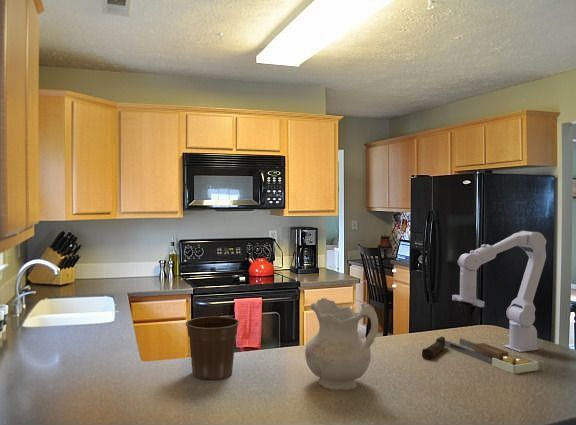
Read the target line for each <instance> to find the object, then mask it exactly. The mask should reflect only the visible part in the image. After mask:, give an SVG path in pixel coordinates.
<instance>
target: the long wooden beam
mask: <svg viewBox="0 0 576 425" xmlns="http://www.w3.org/2000/svg"><path fill="white" fill-rule="evenodd" d="M474 351H477V352H480V353H483V354H485V355H488V356H491V357H493V358H496V359H498V360H501V361H502V356H503V355H510V353H509V351H506V350H504V349H500V348H498V347H496V346H493V345H490V344H487V343H485V342H480V343H476V344H475V349H474Z"/></svg>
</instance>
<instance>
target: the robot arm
mask: <svg viewBox="0 0 576 425" xmlns="http://www.w3.org/2000/svg"><path fill="white" fill-rule="evenodd" d="M547 242H548V241H547V239H546V238H545V236H544V235H543V234H542V233H541V232H539V231H527V230H520V231H518V232H515V233H512V234H511V235H510V236H507V237H506V238H504V239H503V240H500V241H499V242H496V243H494V244H492V245H490V244H484V243H483V244H481V245H480V247H478V248H476V249H475V250H473V249H472V250H470V251H469V253H467V252H466V253H463V254H460V256H459V258H458V260H457V265H458V266H459V268H460V269H459V270H460V271H459V294H452V295H451V296H452V297H451V299H452V300H451V301H457V302H460V303H457V306H458V308H459V310H460V312H461V316H462V320H463V323H464V324H466V325H467V324H471V323H472V319H473V316H474V313H475V312H476V310H477V308H478V307H479V308H484V307H485V301H484V300H481V299H478V298H477V276H478V275H477V274H478V272H477V271H478V269H479V268H480V266H481V265H483V264H485V263H488V262H490V261H491V260H493V259H495V258H496V257H497V254H499V253H503V252H505V251H507V250H509V249H512V248H514V247H519V248H520V249H522V250H523V251H524V252H525V253H526V255H527V257H528V261H527V264H526V267H525V271H524V273H523V277H522V280H521V284H520V287H519V291H518V292H517V297H515V298H514V299H513V300H512V301H511V303H510V305H509V306H508V307H507V309H506V318H508V320H509V322H508V323H509V336H508V337H509V338H508V339H509V340H508V341H509V342H508V344H504V345H503V347H504V348H506V349H510V350H512V351H517V352H520V353H522V352H529V351H530V352H531V351H536V350H537V351H538V350H539V347H538V346H537V344H538V331H537V329H536V326H534V325H533V324H534V322H535V321H536V315H535V312H536V307H535V305H534V299H535V295H536V292H537V288H538V285H539V282H540V279H541V276H542V274H543V273H542V272H543V269H544V266H545V262H546V259H547V251H546V244H547Z"/></svg>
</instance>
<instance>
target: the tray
mask: <svg viewBox="0 0 576 425" xmlns="http://www.w3.org/2000/svg"><path fill="white" fill-rule="evenodd" d="M516 357H522V358H526V359H528V363H526V364H519V365H512V364H509V363H507V362H504V361H501V360H498V359H496V358H492V364H491V366H493V367H495V368H498V369H501V370H503V371H506V372H508V373H511V374H514V375H516V374H520V373H527V372H529V373H530V372H534V371H539V370H540V362H539V361H537V360H534V359H531V358H528V357H525V356H522V355H520V354H515V358H516Z"/></svg>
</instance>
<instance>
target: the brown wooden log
mask: <svg viewBox="0 0 576 425" xmlns="http://www.w3.org/2000/svg"><path fill="white" fill-rule="evenodd" d="M445 341H446V338H445V336H439V337H437V338H436V339H435V342H434V343H432V344H430V345H429V346H428V347H426V348H423V349H422V350H421V357H422V359H425V360H427V361H428V360H433V359H434V357H435V356H436V355H437V354H439V353H440V352H444V351H445V347H446V346H445Z"/></svg>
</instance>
